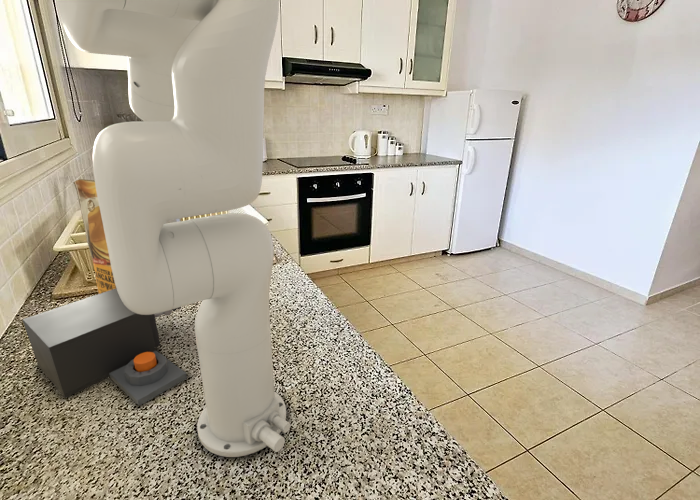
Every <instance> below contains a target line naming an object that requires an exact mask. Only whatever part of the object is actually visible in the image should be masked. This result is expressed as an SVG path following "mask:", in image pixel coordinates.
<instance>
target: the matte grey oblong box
mask: <svg viewBox="0 0 700 500" xmlns="http://www.w3.org/2000/svg"><path fill="white" fill-rule="evenodd" d="M21 321H22V323H23V325H24V328H25V331H26V332H25V333H26V335H27V337H28V340H29V343H30V346H31V349H32V352H33V354H34V357H35V360H36V363H37V366H38V367H39V369H40V370H41V371H42V372H43V374H44V375H45V376H46V377H47V378H48V379H49V381H50V382H51V383H52V384H53V386H54V387H55V388H56V389H57V390H58V392H59V393H60V394H61V396H63V398H64V399H67V398H69V397H71V396H73V395H75V394H77V393H79V392H81V391H83V390H85V389H87V388H88V387H91V386H93V385H96V384H98V383H100V382H101V381H103V380H106V379H107V378H110V375H109V373H111V372H113V371H115V370H117V369H119V368H121V367H123V366H125V365H127V364H128V363H129V362H130V361H131V360H133V359H134V358H135V357H136V356H137V355H139V354H141V353H144V352H154V351H157V350H156V349H157V348H155V344H154V339H153V334H152V329H151V324H150V319H149V315H141V314H137V313H134V312H132V311H131V310H129V309H128V308H127V307H126V306H125V305H124V303H123V302H122V300H121V298H120V296H119V294H118V291H117V289H116V288H115V289H112V290H109V291H106V292H103V293H100V294H99V293H98V294H95V295H92V296H91V295H90V296H89V297H86V298H82V299H79V300H76V301H73V302H70V303H67V304H63V305H61V306H58V307H55V308H53V309H49V310H46V311H42V312H40V313H37V314H34V315H31V316H27V317H25V318H22V320H21Z"/></svg>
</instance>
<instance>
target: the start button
mask: <svg viewBox="0 0 700 500" xmlns="http://www.w3.org/2000/svg"><path fill="white" fill-rule="evenodd" d="M134 365H135V370H136V371H137V372H144V371H149V370H151V369H152V368H154V367H155V366H156V365H157V361H156V357H155V354H154V353H153V352H144V353H141V354H139V355H137V356H136V357H135V358H134Z"/></svg>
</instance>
